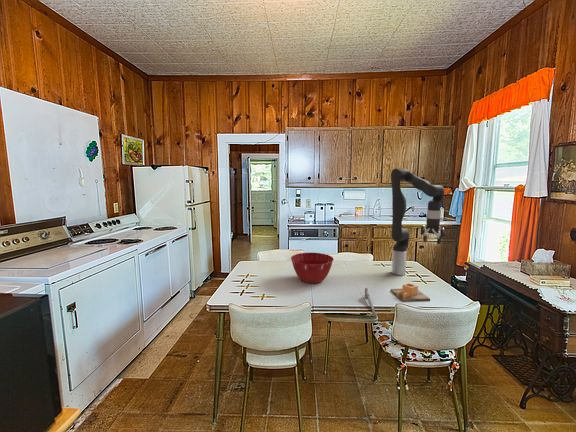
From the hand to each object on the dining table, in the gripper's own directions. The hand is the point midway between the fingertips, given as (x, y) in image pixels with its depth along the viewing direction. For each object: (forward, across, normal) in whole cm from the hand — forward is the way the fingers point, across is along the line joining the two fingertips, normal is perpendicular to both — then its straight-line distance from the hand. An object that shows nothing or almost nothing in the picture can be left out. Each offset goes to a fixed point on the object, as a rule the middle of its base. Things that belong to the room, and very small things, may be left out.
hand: (431, 243), depth 186 cm
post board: (+28, -2, +24) cm, 37 cm away
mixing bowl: (+28, +51, +55) cm, 80 cm away
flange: (+27, -2, +27) cm, 38 cm away
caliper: (+28, +3, +54) cm, 61 cm away
